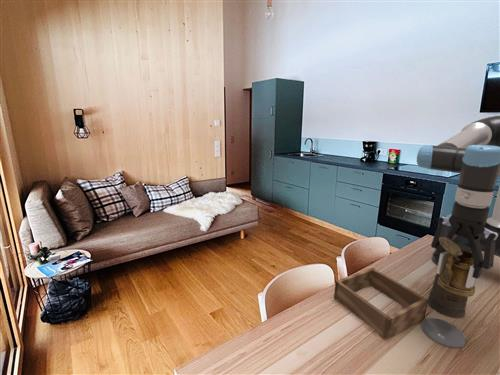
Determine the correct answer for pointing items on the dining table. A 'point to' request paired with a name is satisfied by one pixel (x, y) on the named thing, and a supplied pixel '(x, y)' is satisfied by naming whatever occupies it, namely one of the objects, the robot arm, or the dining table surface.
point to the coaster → (443, 333)
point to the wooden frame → (373, 315)
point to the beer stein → (446, 301)
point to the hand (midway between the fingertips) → (454, 278)
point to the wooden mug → (456, 269)
